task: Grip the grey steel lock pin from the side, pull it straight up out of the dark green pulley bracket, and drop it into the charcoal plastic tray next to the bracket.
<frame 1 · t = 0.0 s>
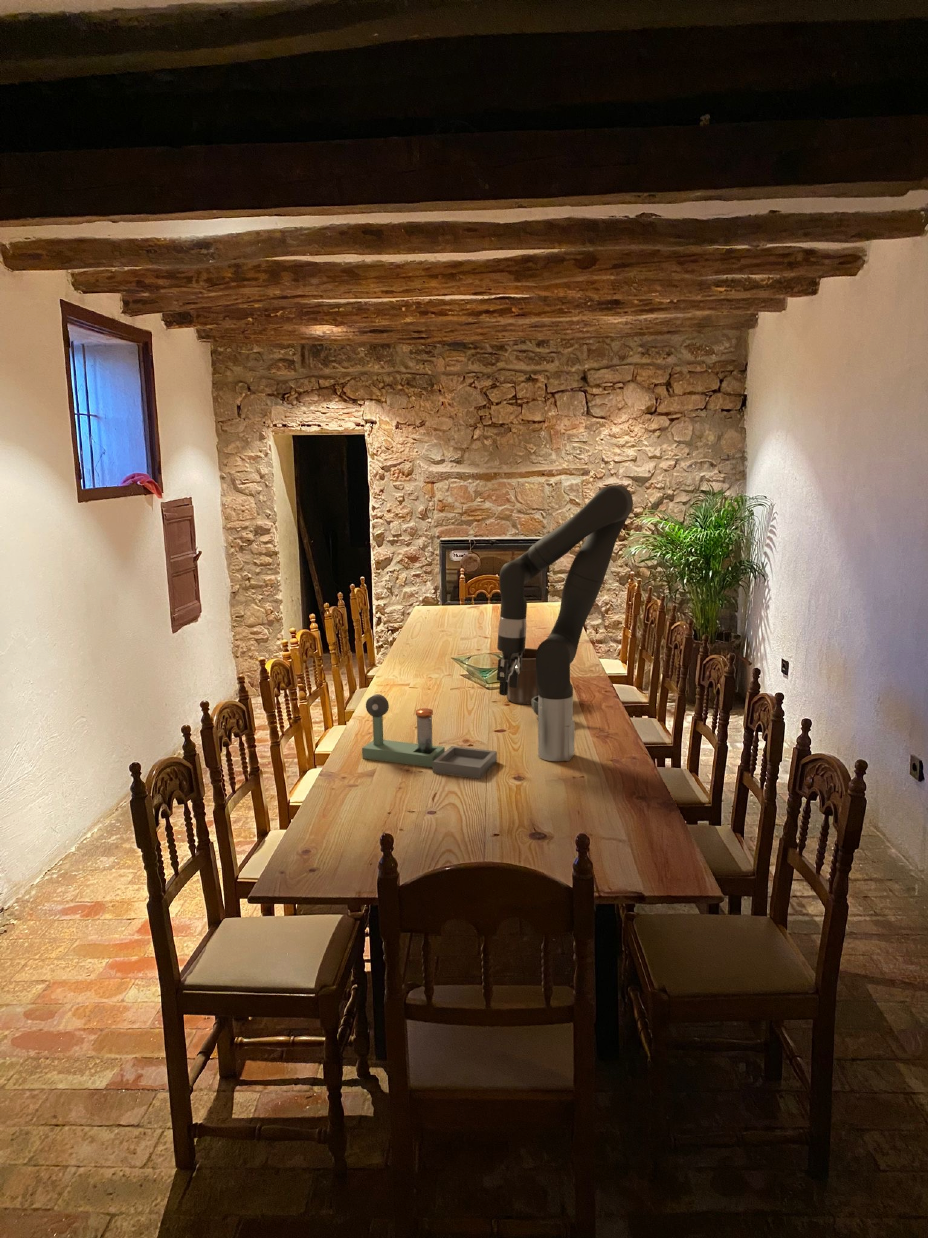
hand: (508, 691, 232), 17 cm above the table, tool pointing down, fingers open, 8 cm apart
mortar and pestle: (549, 721, 262), on the table
plant pot: (525, 700, 285), on the table
lock pin: (425, 760, 229), resting in pulley bracket
pin tray: (465, 767, 224), on the table
pulley bracket: (425, 760, 229), on the table
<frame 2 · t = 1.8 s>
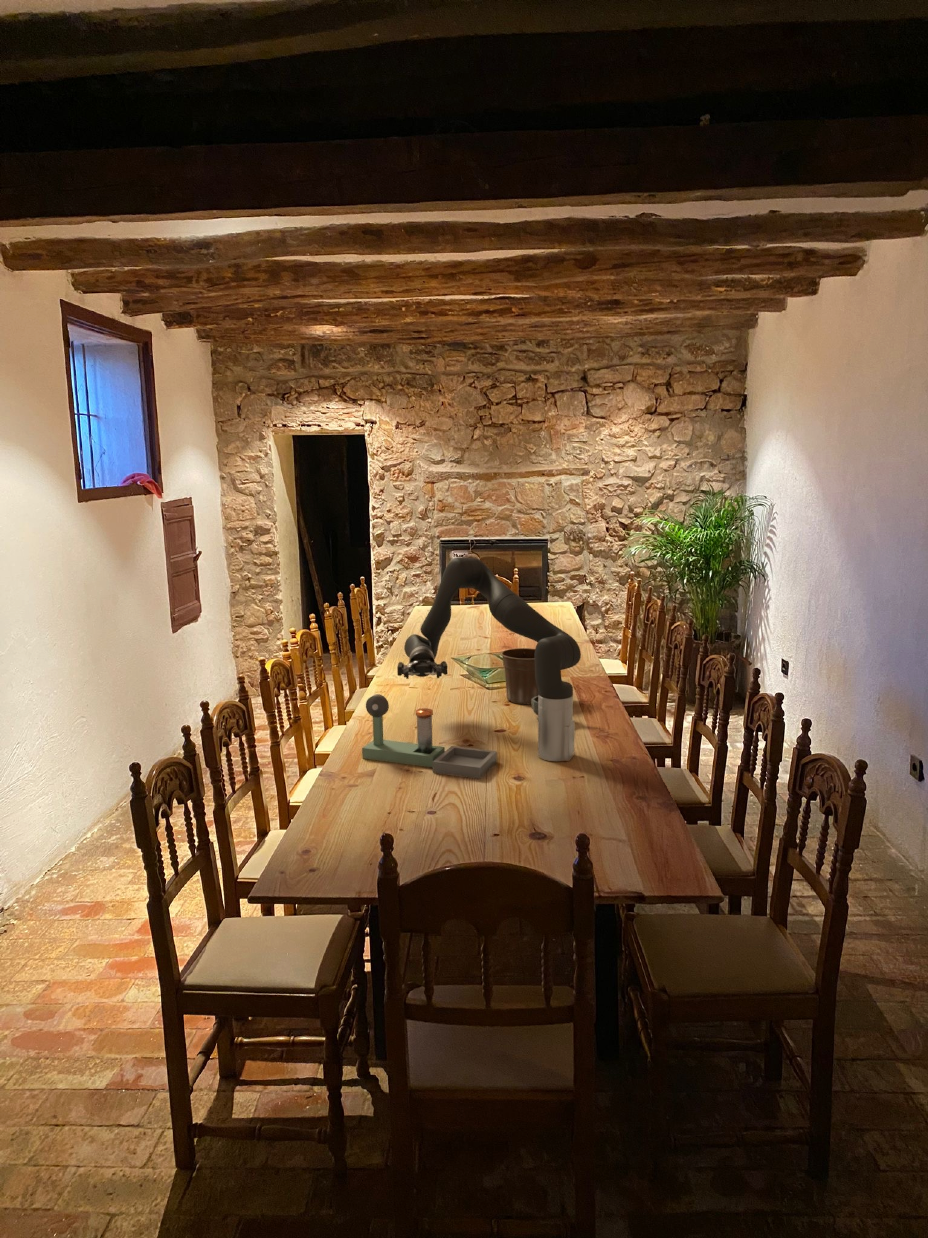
hand: (422, 675, 236), 21 cm above the table, tool horizontal, fingers open, 8 cm apart
nothing on the table moved.
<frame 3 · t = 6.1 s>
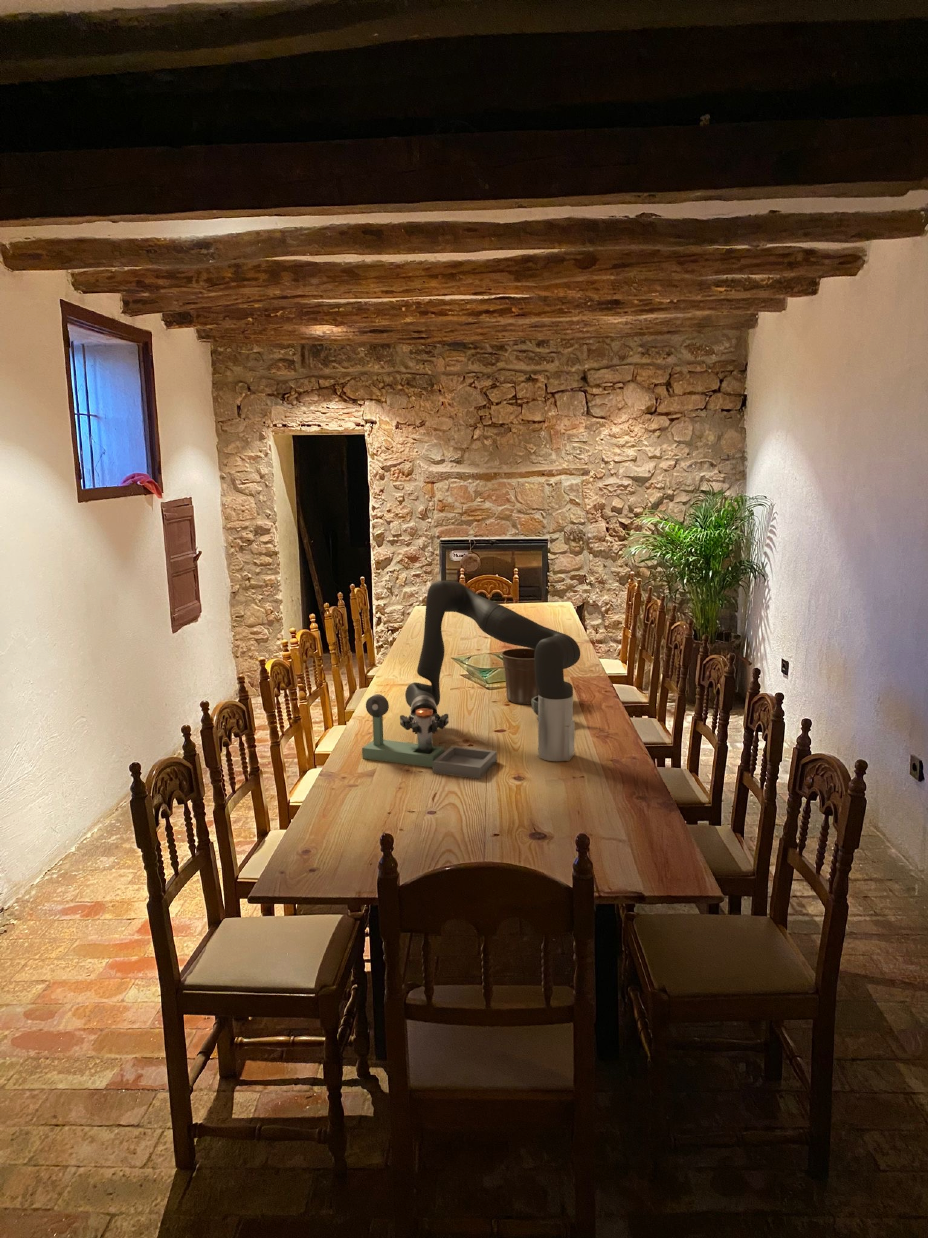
hand: (424, 730, 224), 10 cm above the table, tool horizontal, fingers closed on lock pin, 4 cm apart
lock pin: (425, 760, 229), resting in pulley bracket, touching gripper
everything else where it was.
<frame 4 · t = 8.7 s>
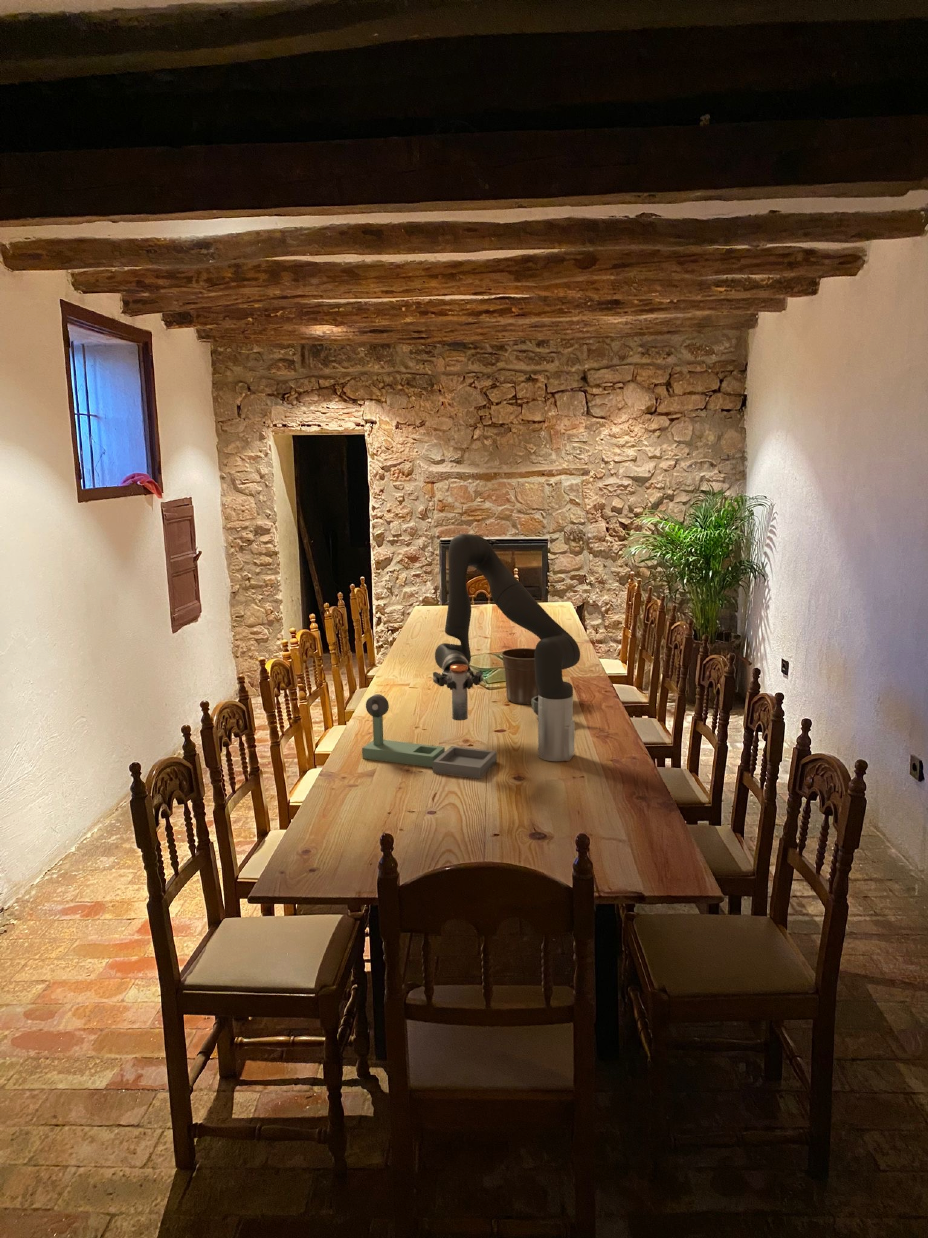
hand: (460, 685, 217), 23 cm above the table, tool horizontal, fingers closed on lock pin, 4 cm apart
lock pin: (460, 718, 222), point 13 cm above the table, touching gripper
everything else where it was.
when the fingers open (12 cm above the table, at t = 11.3 s): lock pin drops 1 cm, resting on pin tray.
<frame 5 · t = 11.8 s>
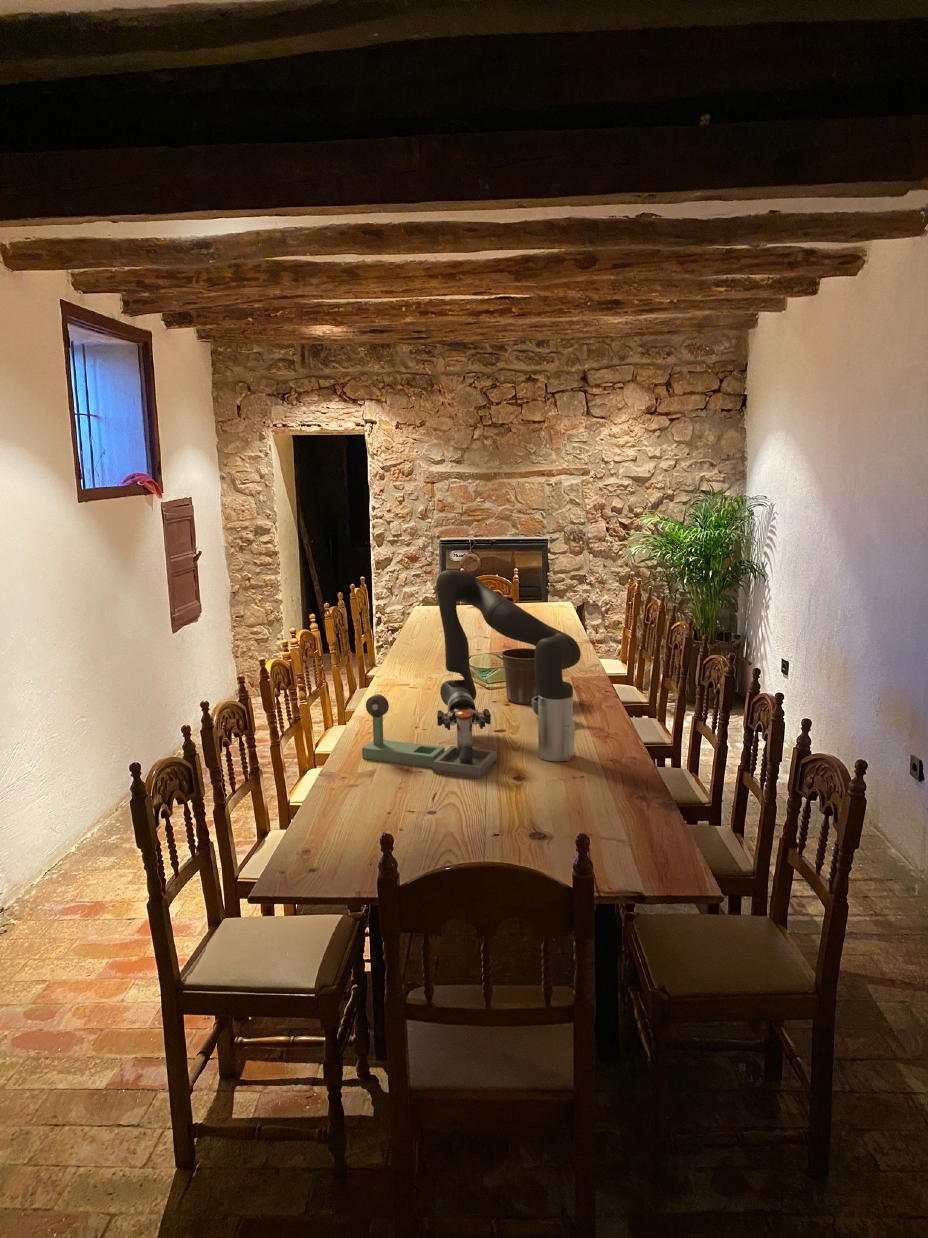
hand: (465, 725, 219), 12 cm above the table, tool horizontal, fingers open, 8 cm apart
lock pin: (465, 763, 223), point 1 cm above the table, touching pin tray
everything else where it was.
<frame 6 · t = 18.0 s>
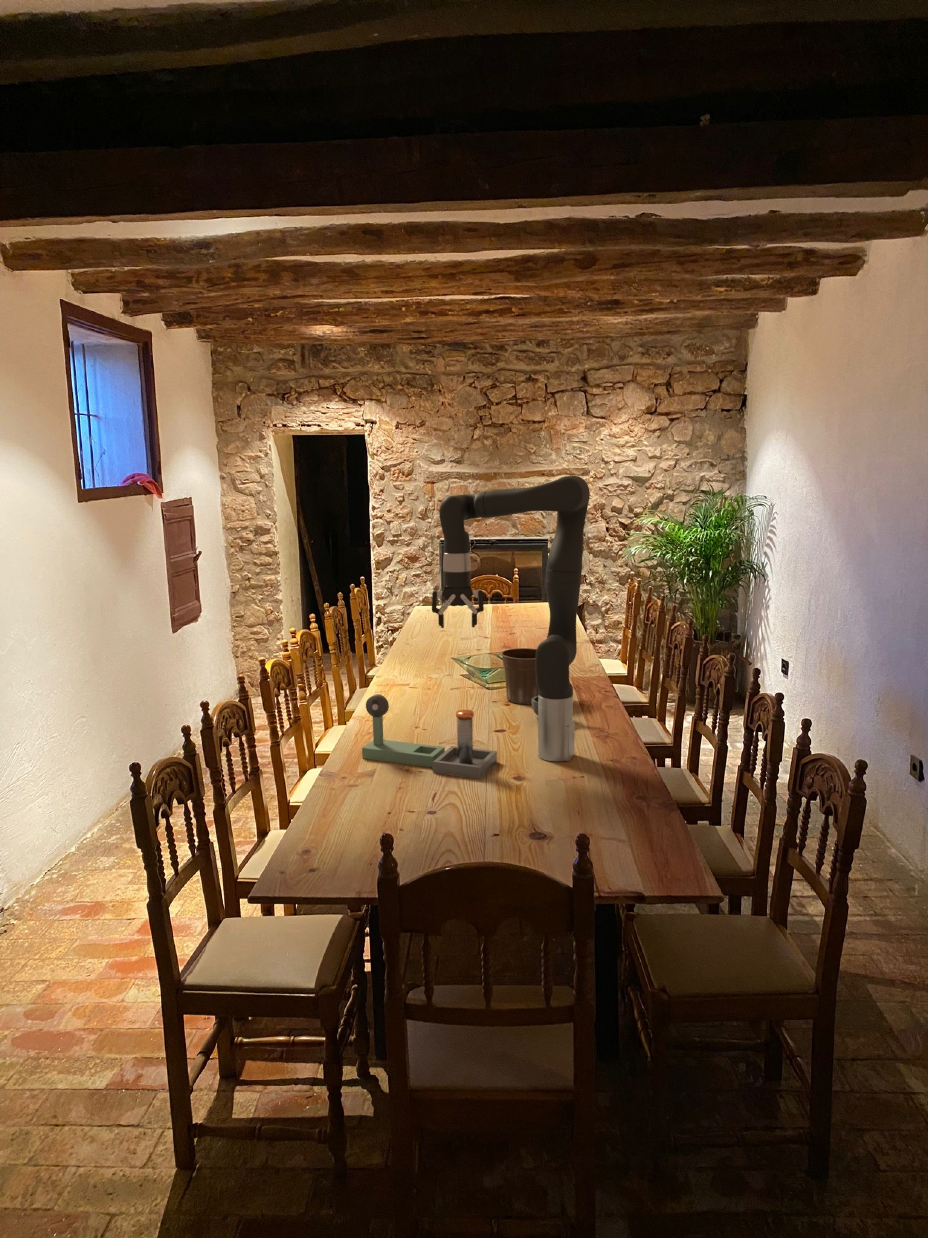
hand: (457, 627, 235), 34 cm above the table, tool pointing down, fingers open, 8 cm apart
nothing on the table moved.
at the end: lock pin inside the target area on the pin tray (0.1 cm from its centre), point 1.0 cm above the pin tray's base; the gripper is holding nothing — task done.
